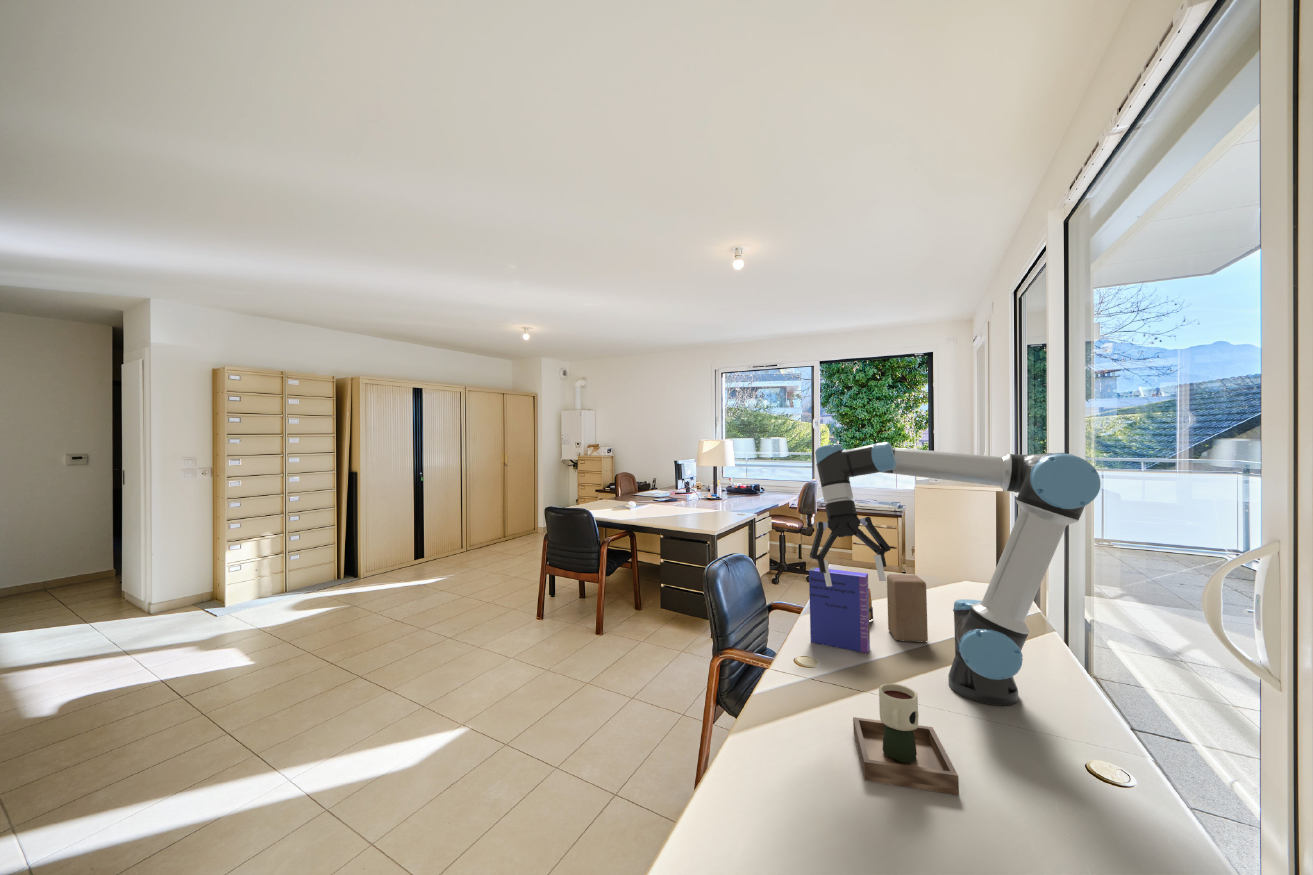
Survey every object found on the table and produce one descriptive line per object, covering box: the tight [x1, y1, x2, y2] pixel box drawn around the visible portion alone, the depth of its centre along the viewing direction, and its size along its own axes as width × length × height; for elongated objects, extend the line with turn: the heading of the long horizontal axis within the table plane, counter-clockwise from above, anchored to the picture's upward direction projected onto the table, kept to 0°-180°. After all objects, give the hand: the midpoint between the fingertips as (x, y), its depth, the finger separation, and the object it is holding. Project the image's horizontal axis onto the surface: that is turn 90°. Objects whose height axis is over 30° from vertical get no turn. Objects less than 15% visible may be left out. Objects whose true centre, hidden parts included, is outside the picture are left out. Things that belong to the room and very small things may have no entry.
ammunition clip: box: [868, 588, 874, 620], centre depth 174 cm, size 11×2×12 cm, turn 133°
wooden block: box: [886, 573, 929, 643], centre depth 161 cm, size 10×10×20 cm
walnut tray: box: [852, 716, 960, 796], centre depth 97 cm, size 16×16×4 cm
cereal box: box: [808, 566, 871, 655], centre depth 155 cm, size 17×5×24 cm, turn 58°
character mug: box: [878, 683, 919, 763], centre depth 97 cm, size 11×7×13 cm, turn 147°
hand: (856, 583), depth 122 cm, fingers open, 13 cm apart
